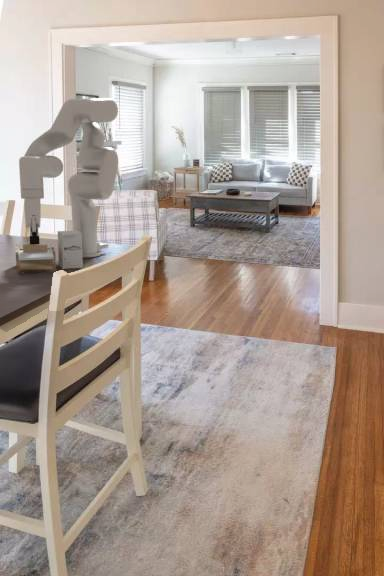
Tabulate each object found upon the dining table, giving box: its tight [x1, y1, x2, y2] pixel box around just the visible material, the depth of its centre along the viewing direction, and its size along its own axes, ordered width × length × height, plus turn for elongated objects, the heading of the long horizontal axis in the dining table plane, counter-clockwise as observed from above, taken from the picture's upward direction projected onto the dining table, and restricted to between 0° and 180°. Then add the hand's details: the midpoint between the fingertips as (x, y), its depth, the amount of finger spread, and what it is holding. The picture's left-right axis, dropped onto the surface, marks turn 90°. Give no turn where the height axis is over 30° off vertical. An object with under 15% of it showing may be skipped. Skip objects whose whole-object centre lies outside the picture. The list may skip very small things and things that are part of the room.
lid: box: [18, 243, 54, 260], centre depth 194 cm, size 13×11×3 cm
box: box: [15, 244, 57, 274], centre depth 203 cm, size 13×13×7 cm
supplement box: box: [57, 230, 84, 270], centre depth 205 cm, size 7×7×13 cm
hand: (34, 247), depth 199 cm, fingers closed
